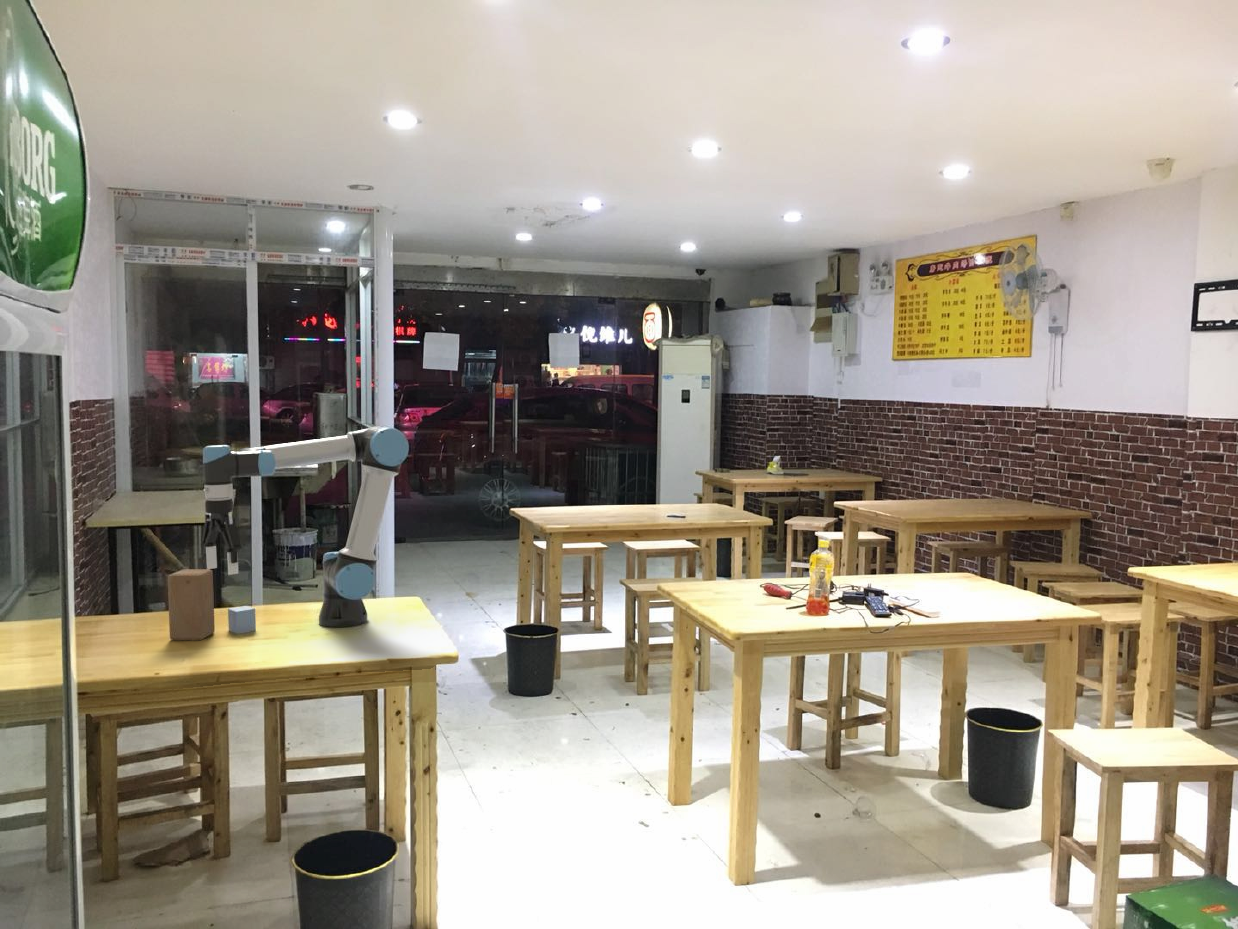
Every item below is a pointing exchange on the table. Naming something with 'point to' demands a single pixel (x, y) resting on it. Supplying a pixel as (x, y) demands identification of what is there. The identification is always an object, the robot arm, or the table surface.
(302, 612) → the table surface
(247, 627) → the slate block
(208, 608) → the wooden block
